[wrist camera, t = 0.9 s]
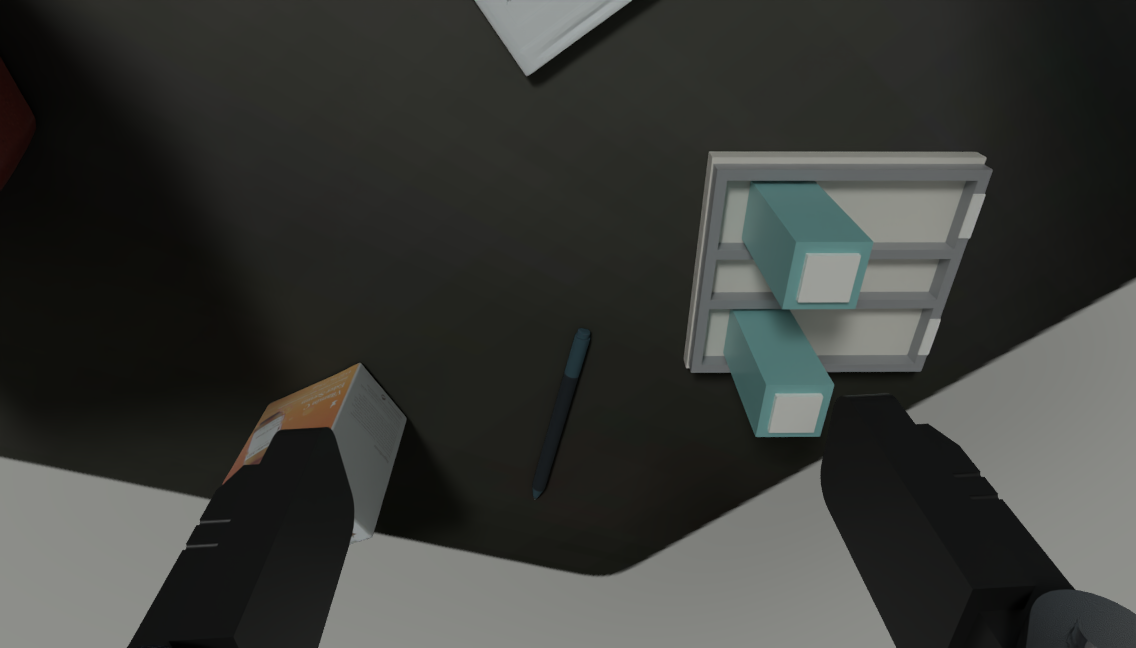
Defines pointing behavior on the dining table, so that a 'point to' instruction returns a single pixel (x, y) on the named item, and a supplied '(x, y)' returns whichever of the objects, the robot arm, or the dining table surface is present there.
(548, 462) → the pen
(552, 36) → the external hard drive
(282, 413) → the small box
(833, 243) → the tab
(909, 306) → the switch board
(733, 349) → the tab
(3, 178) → the plant pot
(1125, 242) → the dining table surface
